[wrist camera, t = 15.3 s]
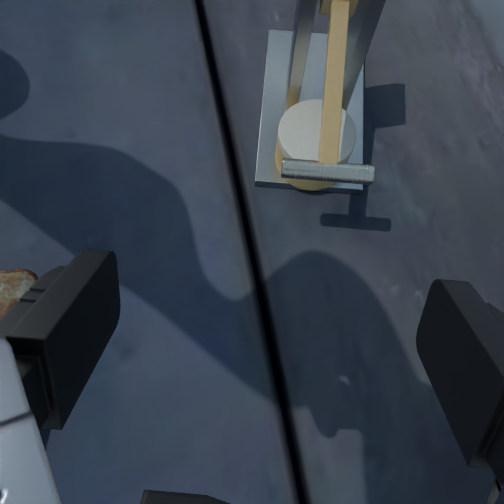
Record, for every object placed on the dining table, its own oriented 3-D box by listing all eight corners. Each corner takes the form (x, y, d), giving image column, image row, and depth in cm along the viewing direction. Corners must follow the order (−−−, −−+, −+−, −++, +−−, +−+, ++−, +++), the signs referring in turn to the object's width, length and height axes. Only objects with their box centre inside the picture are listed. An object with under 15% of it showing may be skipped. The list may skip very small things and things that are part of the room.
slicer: (359, 195, 37) (430, 73, 23) (254, 186, 37) (260, 60, 23) (361, 44, 42) (419, -132, 28) (268, 37, 42) (279, -142, 28)
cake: (260, 154, 37) (262, 127, 33) (312, 116, 38) (319, 85, 34) (308, 204, 36) (315, 181, 32) (360, 162, 37) (373, 136, 33)
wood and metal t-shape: (366, 189, 28) (376, 180, 25) (279, 181, 28) (282, 172, 25) (381, -22, 28) (392, -50, 26) (297, -28, 29) (301, -57, 26)
